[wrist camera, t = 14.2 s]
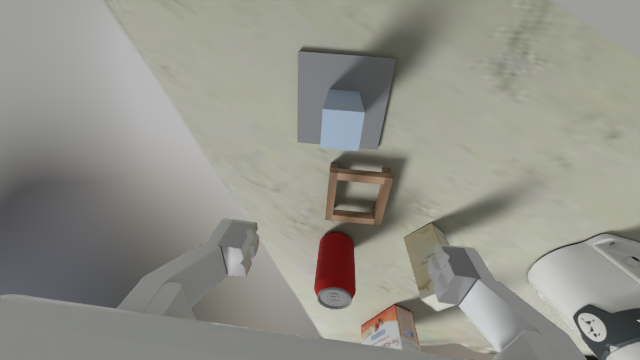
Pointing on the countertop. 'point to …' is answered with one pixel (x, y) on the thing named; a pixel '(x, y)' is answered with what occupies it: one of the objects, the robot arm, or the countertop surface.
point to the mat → (342, 75)
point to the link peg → (342, 120)
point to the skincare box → (425, 261)
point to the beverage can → (335, 271)
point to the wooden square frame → (365, 177)
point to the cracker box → (392, 330)
